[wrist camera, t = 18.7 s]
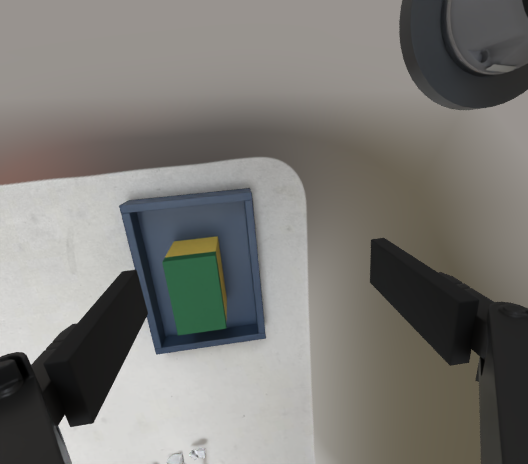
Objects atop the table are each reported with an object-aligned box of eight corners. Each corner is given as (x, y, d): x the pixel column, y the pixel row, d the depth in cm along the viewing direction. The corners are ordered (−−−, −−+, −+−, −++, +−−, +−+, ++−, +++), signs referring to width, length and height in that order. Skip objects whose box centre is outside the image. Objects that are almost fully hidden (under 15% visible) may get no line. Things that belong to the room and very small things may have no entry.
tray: (128, 200, 37) (118, 205, 34) (249, 187, 38) (251, 192, 35) (161, 339, 44) (155, 354, 41) (263, 325, 45) (265, 338, 42)
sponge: (173, 241, 38) (161, 262, 32) (217, 236, 39) (215, 255, 32) (186, 304, 42) (177, 335, 35) (226, 299, 42) (226, 328, 35)
